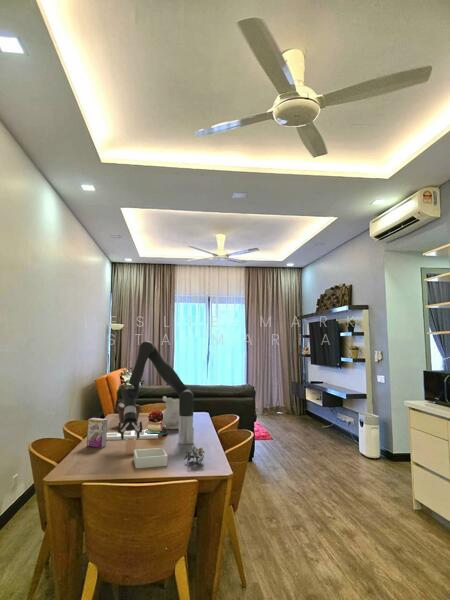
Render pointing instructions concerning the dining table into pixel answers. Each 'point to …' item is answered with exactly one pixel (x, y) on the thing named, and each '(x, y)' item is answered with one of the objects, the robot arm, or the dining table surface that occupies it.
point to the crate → (150, 458)
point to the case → (121, 411)
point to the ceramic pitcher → (171, 413)
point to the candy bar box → (97, 432)
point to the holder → (130, 435)
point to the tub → (130, 446)
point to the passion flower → (195, 455)
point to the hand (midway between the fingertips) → (130, 438)
